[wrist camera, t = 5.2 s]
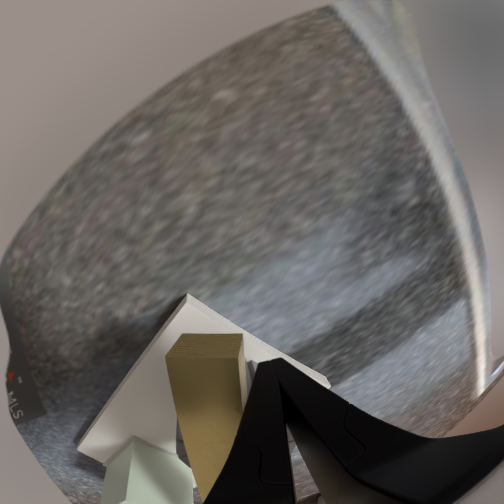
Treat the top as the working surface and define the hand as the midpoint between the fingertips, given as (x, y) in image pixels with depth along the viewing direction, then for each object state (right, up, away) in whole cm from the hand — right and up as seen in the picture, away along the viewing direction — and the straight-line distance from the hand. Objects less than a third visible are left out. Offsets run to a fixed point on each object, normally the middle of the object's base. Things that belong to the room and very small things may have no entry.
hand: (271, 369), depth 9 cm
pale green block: (-8, -12, +6) cm, 16 cm away
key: (-1, -4, +5) cm, 7 cm away
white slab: (-5, -8, +7) cm, 11 cm away
